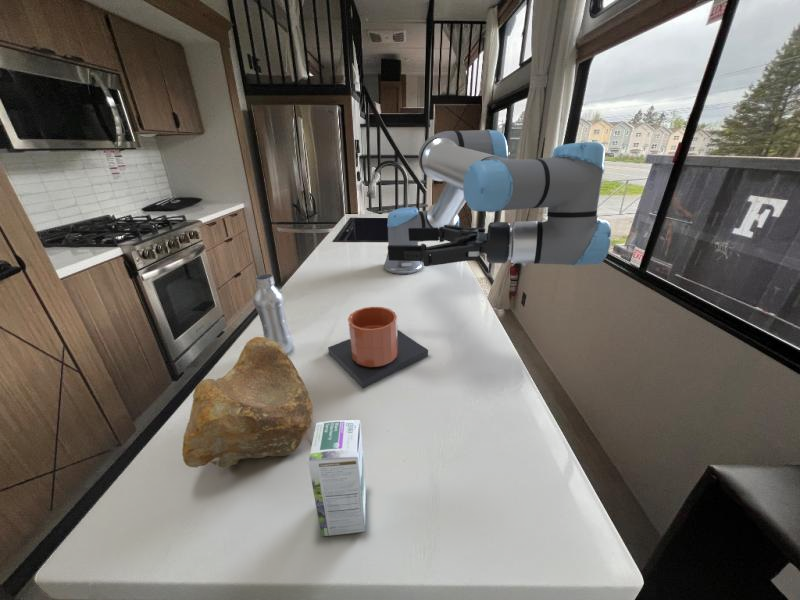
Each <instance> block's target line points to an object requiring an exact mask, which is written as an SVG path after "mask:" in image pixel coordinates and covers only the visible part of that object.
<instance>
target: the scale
mask: <svg viewBox="0 0 800 600" xmlns="http://www.w3.org/2000/svg"><path fill="white" fill-rule="evenodd" d="M398 326H399V325H397V336H398V353H397V357H396V358H395V359H394V360H393V361H392V362H390V363H388V364H386V365H383V366H379V367H366V366H363V365H360V364H357V363H356V362H355V361H354V360H353V358H352V353H351V344H350V338H349V339H346V340H343V341H340V342H337V343H336V344H333V345H331V346H328V347H327V351H328V355H329V356H330V357H331V358H332V359H333V360H334V361H335V362H336V363H337V364H338V365H339V366H340V367H341V368H342V369H343V370H344V371H345V372H346V373H347V374H348V375H349V376H350V377H351V378H352V379H353V380H354V381H355V382H356V383H357V384H358V385H359V386H360V387H361V388H362V389H363V390H364V389H365V388H368V387H369V386H373V384H375V383H378V382H379V381H382V380H383V379H386V378H388V377H389V376H392V375H394V374H396V373H398V372H400V371H402V370H403V369H406V368H408V367H410V366H411V365H414V364H416V363H418V362H420V361H421V360H424V359H426V358H428V357H429V349H427V348H426V347H425V346H423V345H421V344H420V343H418V342H417V341H416V340H414V339H413V338H411V337H410V336H408V335H406V334H405V333H404V332H402V331H400V330H399V329H398Z"/></svg>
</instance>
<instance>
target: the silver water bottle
mask: <svg viewBox="0 0 800 600" xmlns="http://www.w3.org/2000/svg"><path fill="white" fill-rule="evenodd" d="M254 280H255V285H256V288H257V289H256V292H255V293H254V295H253V300H252V301H253V305H254V307H255V309H256V312H257V314H258V316H259V321H260V323H261V326H262V331H263V332H262V333H263V337H264V338H269V339H270V340H272V341H274V342H277V343H278V344H279V345H280V346H281V347H282V349H283V350H284V352H285V353H286V355H287V354H289V353H290V352H291V351H292V349H293V348H294V338H293V337H292V334H291V332H290V329H289V326H288V323H287V319H286V311H285V297H284V294H283V292H282V291H281V290H280V289H279V288H278V287H277V286H276V285H275V284H276V281H275V277H274V275H273V274H272V273H263V274H260V275H257V276H255V279H254Z"/></svg>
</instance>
